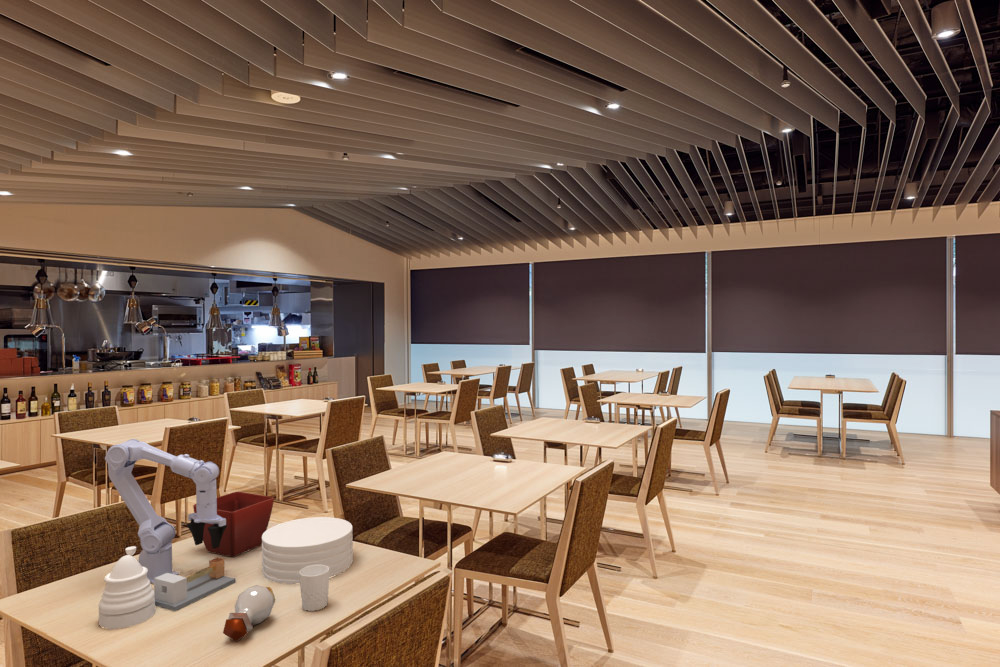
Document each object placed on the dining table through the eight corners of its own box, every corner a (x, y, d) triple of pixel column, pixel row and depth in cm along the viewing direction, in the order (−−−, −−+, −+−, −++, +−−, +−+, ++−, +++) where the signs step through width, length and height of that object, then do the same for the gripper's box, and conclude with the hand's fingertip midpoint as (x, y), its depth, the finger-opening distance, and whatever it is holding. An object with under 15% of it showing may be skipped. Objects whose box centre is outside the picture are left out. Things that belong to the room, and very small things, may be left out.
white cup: (303, 600, 170) (303, 565, 170) (332, 598, 171) (331, 563, 171) (296, 613, 163) (296, 576, 162) (326, 611, 163) (326, 575, 163)
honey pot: (120, 605, 168) (118, 542, 168) (165, 606, 168) (163, 542, 167) (87, 629, 155) (85, 560, 155) (135, 629, 155) (134, 560, 154)
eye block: (146, 602, 170) (146, 578, 169) (207, 575, 188) (207, 553, 188) (175, 611, 164) (175, 585, 164) (235, 582, 183) (235, 559, 182)
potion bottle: (269, 617, 163) (242, 653, 149) (239, 597, 163) (209, 631, 148) (286, 591, 162) (260, 626, 147) (256, 571, 162) (228, 604, 147)
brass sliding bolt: (182, 589, 175) (182, 572, 175) (217, 573, 186) (217, 557, 186) (189, 591, 173) (189, 573, 173) (224, 575, 184) (224, 558, 184)
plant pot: (276, 543, 215) (275, 496, 215) (232, 562, 198) (232, 512, 198) (237, 536, 223) (236, 491, 223) (192, 554, 206) (191, 505, 205)
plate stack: (370, 560, 199) (370, 525, 199) (302, 592, 176) (301, 553, 176) (313, 544, 214) (313, 512, 214) (243, 571, 191) (242, 536, 191)
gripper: (179, 503, 187) (179, 546, 187) (211, 509, 181) (212, 553, 181) (199, 497, 193) (199, 539, 193) (231, 502, 187) (232, 545, 187)
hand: (207, 545), depth 187 cm, fingers open, 7 cm apart
